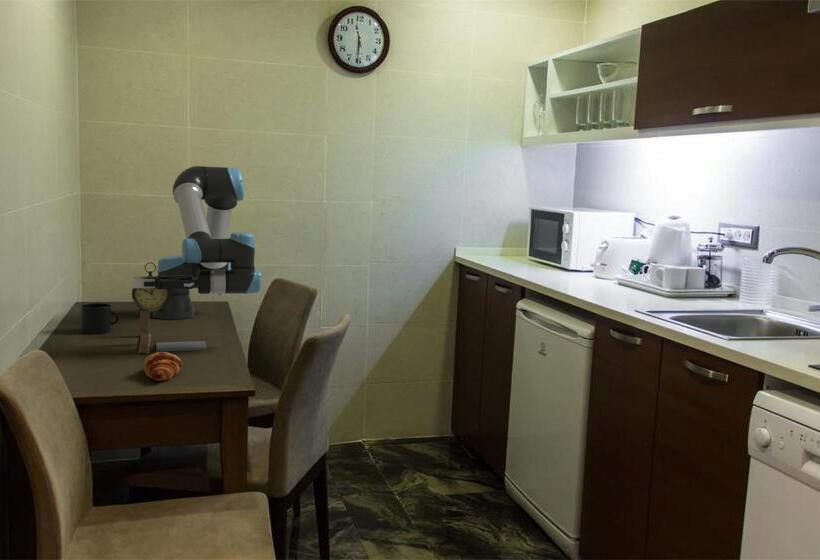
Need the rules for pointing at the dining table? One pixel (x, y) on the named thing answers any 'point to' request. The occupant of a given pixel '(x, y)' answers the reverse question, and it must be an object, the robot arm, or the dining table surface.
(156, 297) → the alarm clock
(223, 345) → the dining table surface
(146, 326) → the slalom posts
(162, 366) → the croissant
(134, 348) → the dining table surface
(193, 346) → the pad
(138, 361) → the dining table surface
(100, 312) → the mug
